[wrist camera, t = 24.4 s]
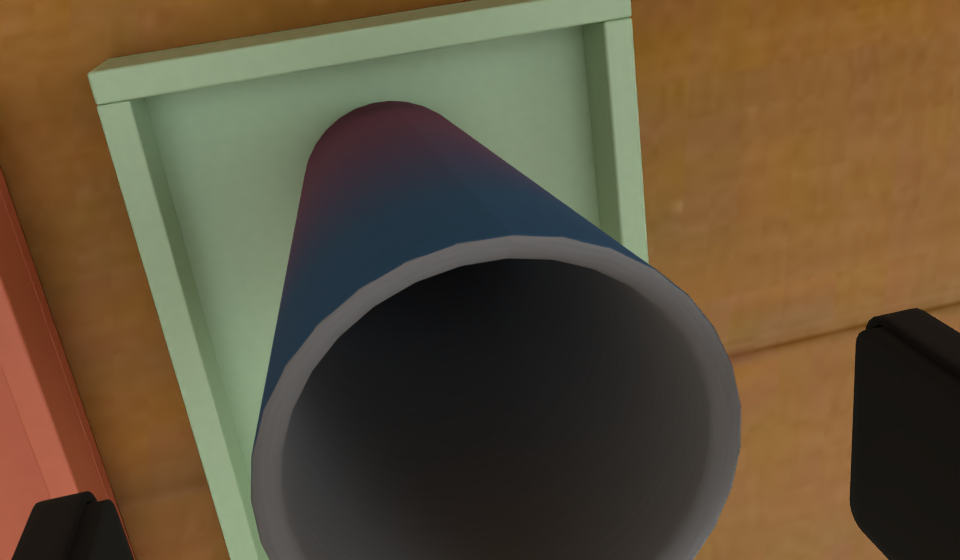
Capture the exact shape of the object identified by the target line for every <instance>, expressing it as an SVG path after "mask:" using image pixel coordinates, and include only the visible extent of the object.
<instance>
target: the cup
mask: <svg viewBox="0 0 960 560" xmlns="http://www.w3.org/2000/svg"><path fill="white" fill-rule="evenodd" d="M740 447H741V404H740V400H739V395H738V390H737V386H736V381H735V376H734V371H733V367H732V364H731V362H730V360H729V358H728V355H727V353H726V351H725V349H724V347H723V345H722V343H721V341H720V338H719V336H718V334H717V332H716V330H715V328H714V327H713V325H712V324H711V323H710V322H709V320H708V319H707V318H706V317H705V315H704V314H703V313H702V312H701V310H700V309H699V308H698V307H697V305H696V304H695V303H694V302H693V300H692V299H691V298H690V297H689V295H688V294H686V293H685V292H684V291H683V290H681V289H680V288H679V287H678V286H676V285H675V284H674V283H672V282H671V281H670V280H669V279H667V278H666V277H665V276H664V275H662V274H661V273H660V272H658V271H657V270H656V269H655V268H653V267H652V266H651V265H649V264H648V263H646V262H645V261H644V260H642V259H641V258H639V257H638V256H637V255H635V254H634V253H632V252H631V251H630V250H628V249H627V248H626V247H624V246H623V245H621V244H620V243H619V242H617V241H616V240H614V239H613V238H612V237H610V236H609V235H607V234H606V233H605V232H603V231H602V230H600V229H599V228H598V227H596V226H595V225H593V224H592V223H591V222H589V221H588V220H587V219H585V218H584V217H582V216H581V215H580V214H578V213H577V212H575V211H574V210H573V209H571V208H570V207H568V206H567V205H566V204H564V203H563V202H561V201H560V200H559V199H557V198H556V197H554V196H553V195H552V194H550V193H549V192H548V191H546V190H545V189H543V188H542V187H541V186H539V185H538V184H536V183H535V182H534V181H532V180H531V179H529V178H528V177H527V176H525V175H524V174H522V173H521V172H520V171H518V170H517V169H516V168H514V167H513V166H511V165H510V164H509V163H507V162H506V161H504V160H503V159H502V158H500V157H499V156H497V155H496V154H495V153H493V152H492V151H490V150H489V149H488V148H486V147H485V146H483V145H482V144H481V143H479V142H478V141H477V140H475V139H474V138H472V137H471V136H470V135H468V134H467V133H465V132H464V131H463V130H461V129H460V128H458V127H457V126H456V125H454V124H453V123H451V122H450V121H449V120H447V119H446V118H444V117H443V116H442V115H440V114H439V113H437V112H435V111H432V110H430V109H428V108H426V107H424V106H421V105H417V104H413V103H410V102H402V101H384V102H376V103H371V104H368V105H365V106H362V107H359V108H356V109H354V110H352V111H351V112H349V113H347V114H345V115H344V116H342V117H340V118H339V119H338V120H337V121H336V122H334V123H333V124H332V125H331V126H330V127H329V128H328V129H327V130H326V131H325V132H324V133H323V135H322V136H321V138H320V139H319V140H318V142H317V143H316V144H315V146H314V149H313V151H312V153H311V155H310V157H309V159H308V163H307V167H306V171H305V176H304V181H303V186H302V191H301V196H300V202H299V207H298V212H297V218H296V223H295V228H294V233H293V239H292V244H291V249H290V254H289V260H288V265H287V270H286V276H285V281H284V286H283V291H282V297H281V302H280V307H279V313H278V318H277V323H276V328H275V334H274V339H273V344H272V349H271V355H270V360H269V365H268V371H267V376H266V381H265V386H264V392H263V397H262V402H261V408H260V413H259V418H258V423H257V429H256V434H255V439H254V444H253V450H252V455H251V503H252V507H253V512H254V516H255V520H256V525H257V529H258V533H259V538H260V542H261V544H262V546H263V548H264V550H265V552H266V554H267V556H268V558H269V560H693V559H694V558H695V556H696V555H697V553H698V552H699V550H700V549H701V547H702V545H703V544H704V542H705V541H706V539H707V538H708V536H709V535H710V533H711V532H712V530H713V529H714V527H715V525H716V523H717V521H718V518H719V516H720V514H721V511H722V509H723V507H724V504H725V502H726V500H727V497H728V495H729V493H730V490H731V488H732V484H733V479H734V475H735V470H736V466H737V461H738V456H739V452H740Z"/></svg>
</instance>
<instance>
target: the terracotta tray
mask: <svg viewBox="0 0 960 560" xmlns="http://www.w3.org/2000/svg"><path fill="white" fill-rule="evenodd" d="M85 491H90V492H92V493H93V495H94V496H95V497H96V499H97V501H102V500H107V499H109V500H111V501H112V502H113V503H114V505H115V507H116V510H117V512H118V515H119V518H120V521H121V523H122V526H123V529H124V532H125V535H126V537H127V540H128V543H129V546H130V549H131V551H132V554H133V557H134V560H136V559H135V556H134V553H133V550H132V547H131V544H130V541H129V538H128V536H127V533H126V530H125V527H124V524H123V521H122V518H121V515H120V512H119V509H118V507H117V504H116V501H115V498H114V495H113V492H112V489H111V486H110V483H109V481H108V478H107V475H106V472H105V469H104V466H103V463H102V460H101V457H100V454H99V452H98V449H97V446H96V443H95V440H94V437H93V434H92V431H91V428H90V426H89V423H88V420H87V417H86V414H85V411H84V408H83V405H82V402H81V399H80V397H79V394H78V391H77V388H76V385H75V382H74V379H73V376H72V373H71V370H70V368H69V365H68V362H67V359H66V356H65V353H64V350H63V347H62V344H61V342H60V339H59V336H58V333H57V330H56V327H55V324H54V321H53V318H52V315H51V313H50V310H49V307H48V304H47V301H46V298H45V295H44V292H43V289H42V287H41V284H40V281H39V278H38V275H37V272H36V269H35V266H34V263H33V260H32V258H31V255H30V252H29V249H28V246H27V243H26V240H25V237H24V234H23V231H22V229H21V226H20V223H19V220H18V217H17V214H16V211H15V208H14V205H13V203H12V200H11V197H10V194H9V191H8V188H7V185H6V182H5V179H4V176H3V174H2V171H1V168H0V560H11V559H12V557H13V554H14V552H15V549H16V547H17V545H18V542H19V540H20V537H21V535H22V533H23V530H24V528H25V525H26V523H27V520H28V518H29V516H30V513H31V511H32V509H33V507H34V505H35V504H36V503H38V502H40V501H44V500H49V499H53V498H58V497H62V496H67V495H71V494H76V493H80V492H85Z"/></svg>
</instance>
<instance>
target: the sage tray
mask: <svg viewBox="0 0 960 560" xmlns="http://www.w3.org/2000/svg"><path fill="white" fill-rule="evenodd" d="M631 14H632V13H631V0H473V1H467V2H461V3H454V4H448V5H442V6H435V7H429V8H423V9H417V10H410V11H404V12H398V13H392V14H385V15H379V16H373V17H366V18H360V19H354V20H348V21H341V22H335V23H329V24H323V25H316V26H310V27H304V28H298V29H291V30H285V31H279V32H272V33H266V34H260V35H254V36H247V37H241V38H235V39H229V40H222V41H216V42H210V43H203V44H197V45H191V46H185V47H178V48H172V49H166V50H160V51H153V52H147V53H141V54H135V55H128V56H122V57H116V58H109V59H107V60H105V61H104V62H103V63H102V64H100V65H99V66H97V67H96V68H94V69H93V70H92V71H90V72H89V73H88V75H87V76H88V79H89V83H90V86H91V90H92V93H93V96H94V100H95V102H96V104H98V106H97V111H98V114H99V118H100V121H101V124H102V128H103V131H104V134H105V138H106V141H107V145H108V148H109V151H110V155H111V158H112V161H113V165H114V168H115V172H116V175H117V178H118V182H119V185H120V188H121V192H122V195H123V199H124V202H125V205H126V209H127V212H128V215H129V219H130V222H131V226H132V229H133V232H134V236H135V239H136V242H137V246H138V249H139V253H140V256H141V259H142V263H143V266H144V269H145V273H146V276H147V280H148V283H149V286H150V290H151V293H152V296H153V300H154V303H155V307H156V310H157V313H158V317H159V320H160V323H161V327H162V330H163V334H164V337H165V340H166V344H167V347H168V350H169V354H170V357H171V361H172V364H173V367H174V371H175V374H176V377H177V381H178V384H179V388H180V391H181V394H182V398H183V401H184V404H185V408H186V411H187V415H188V418H189V421H190V425H191V428H192V432H193V435H194V438H195V442H196V445H197V448H198V452H199V455H200V459H201V462H202V465H203V469H204V472H205V475H206V479H207V482H208V486H209V489H210V492H211V496H212V499H213V502H214V506H215V509H216V513H217V516H218V519H219V523H220V526H221V529H222V533H223V536H224V540H225V543H226V546H227V550H228V553H229V556H230V560H269V558H268V556H267V554H266V552H265V550H264V548H263V546H262V544H261V542H260V538H259V533H258V529H257V525H256V520H255V516H254V512H253V507H252V503H251V455H252V450H253V444H254V439H255V434H256V429H257V423H258V418H259V413H260V408H261V402H262V397H263V392H264V386H265V381H266V376H267V371H268V365H269V360H270V355H271V349H272V344H273V339H274V334H275V328H276V323H277V318H278V313H279V307H280V302H281V297H282V291H283V286H284V281H285V276H286V270H287V265H288V260H289V254H290V249H291V244H292V239H293V233H294V228H295V223H296V218H297V212H298V207H299V202H300V196H301V191H302V186H303V181H304V176H305V171H306V167H307V163H308V159H309V157H310V155H311V153H312V151H313V149H314V146H315V144H316V143H317V142H318V140H319V139H320V138H321V136H322V135H323V133H324V132H325V131H326V130H327V129H328V128H329V127H330V126H331V125H332V124H333V123H334V122H336V121H337V120H338V119H339V118H340V117H342V116H344V115H345V114H347V113H349V112H351V111H352V110H354V109H356V108H359V107H362V106H365V105H368V104H371V103H376V102H384V101H402V102H410V103H413V104H417V105H421V106H424V107H426V108H428V109H430V110H432V111H435V112H437V113H439V114H440V115H442V116H443V117H444V118H446V119H447V120H449V121H450V122H451V123H453V124H454V125H456V126H457V127H458V128H460V129H461V130H463V131H464V132H465V133H467V134H468V135H470V136H471V137H472V138H474V139H475V140H477V141H478V142H479V143H481V144H482V145H483V146H485V147H486V148H488V149H489V150H490V151H492V152H493V153H495V154H496V155H497V156H499V157H500V158H502V159H503V160H504V161H506V162H507V163H509V164H510V165H511V166H513V167H514V168H516V169H517V170H518V171H520V172H521V173H522V174H524V175H525V176H527V177H528V178H529V179H531V180H532V181H534V182H535V183H536V184H538V185H539V186H541V187H542V188H543V189H545V190H546V191H548V192H549V193H550V194H552V195H553V196H554V197H556V198H557V199H559V200H560V201H561V202H563V203H564V204H566V205H567V206H568V207H570V208H571V209H573V210H574V211H575V212H577V213H578V214H580V215H581V216H582V217H584V218H585V219H587V220H588V221H589V222H591V223H592V224H593V225H595V226H596V227H598V228H599V229H600V230H602V231H603V232H605V233H606V234H607V235H609V236H610V237H612V238H613V239H614V240H616V241H617V242H619V243H620V244H621V245H623V246H624V247H626V248H627V249H628V250H630V251H631V252H632V253H634V254H635V255H637V256H638V257H639V258H641V259H642V260H644V261H645V262H646V263H648V264H649V262H648V248H647V233H646V218H645V204H644V189H643V175H642V160H641V146H640V131H639V117H638V102H637V87H636V73H635V58H634V44H633V29H632V20H631V18H629V17H630V16H631Z"/></svg>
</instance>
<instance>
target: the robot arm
mask: <svg viewBox="0 0 960 560" xmlns="http://www.w3.org/2000/svg"><path fill="white" fill-rule="evenodd" d="M850 507H851V511H852V514H853V517H854V519H855V521H856V523H857V525H858V527H859V528H860V529H861V530H862V532H863V533H864V534H865V535H866V536H867V537H868V538H869V539H870V540H871V541H872V542H873V543H874V544H875V545H876V547H877V548H878V549H879V550H880V551H881V552H882V553H883V554H884V555H885V556H886V557H887V558H888V559H889V560H960V333H959V332H957V331H956V330H954V329H952V328H951V327H949V326H947V325H946V324H944V323H943V322H941V321H939V320H938V319H936V318H935V317H933V316H931V315H930V314H928V313H927V312H925V311H923V310H920V309H918V308H914V309H908V310H903V311H899V312H894V313H890V314H885V315H881V316H876V317H873V318H872V319H871V320H869V322H868V324H867V326H866V330H864V331H862V332H860V333H859V335H858V337H857V340H856V354H855V379H854V405H853V430H852V456H851V481H850ZM11 560H134V557H133V554H132V551H131V549H130V546H129V543H128V540H127V537H126V535H125V532H124V529H123V526H122V523H121V521H120V518H119V515H118V512H117V510H116V507H115V505H114V503H113V502H112V501H111V500H109V499H107V500H102V501H97V499H96V497H95V496H94V495H93V493H92V492H90V491H85V492H80V493H76V494H71V495H67V496H62V497H58V498H53V499H49V500H44V501H40V502H38V503H36V504H35V505H34V507H33V509H32V511H31V513H30V516H29V518H28V520H27V523H26V525H25V528H24V530H23V533H22V535H21V537H20V540H19V542H18V545H17V547H16V549H15V552H14V554H13V557H12V559H11Z"/></svg>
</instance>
